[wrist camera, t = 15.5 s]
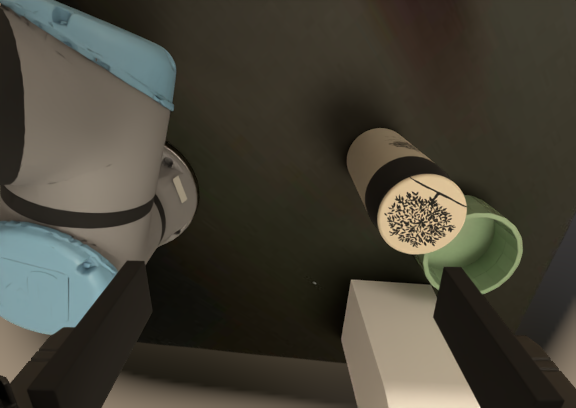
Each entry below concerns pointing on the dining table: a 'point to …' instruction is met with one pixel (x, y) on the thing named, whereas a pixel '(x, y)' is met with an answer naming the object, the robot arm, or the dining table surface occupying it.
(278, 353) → the dining table surface
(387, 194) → the travel mug
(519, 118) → the dining table surface
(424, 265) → the pot
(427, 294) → the milk
